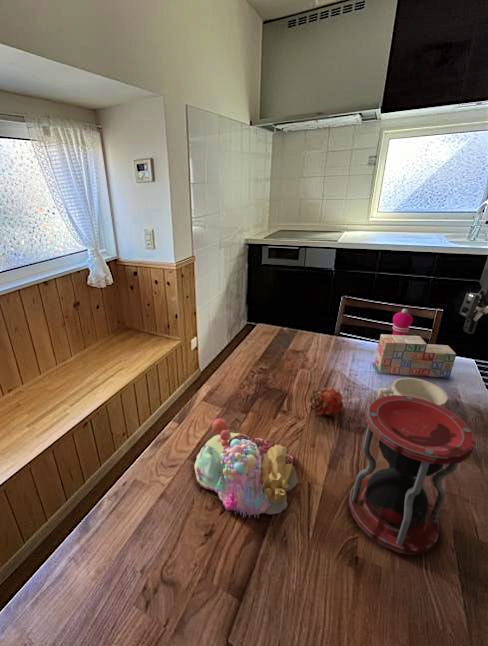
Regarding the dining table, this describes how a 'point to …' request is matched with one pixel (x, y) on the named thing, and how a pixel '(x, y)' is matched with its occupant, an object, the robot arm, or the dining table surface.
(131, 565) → the dining table surface
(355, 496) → the hourglass
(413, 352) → the stack of blocks
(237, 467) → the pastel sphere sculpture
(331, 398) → the dragon fruit
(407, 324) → the pepper mill
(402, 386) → the mug
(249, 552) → the dining table surface
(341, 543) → the dining table surface
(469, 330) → the robot arm
